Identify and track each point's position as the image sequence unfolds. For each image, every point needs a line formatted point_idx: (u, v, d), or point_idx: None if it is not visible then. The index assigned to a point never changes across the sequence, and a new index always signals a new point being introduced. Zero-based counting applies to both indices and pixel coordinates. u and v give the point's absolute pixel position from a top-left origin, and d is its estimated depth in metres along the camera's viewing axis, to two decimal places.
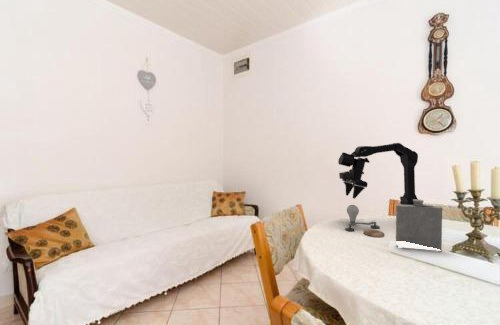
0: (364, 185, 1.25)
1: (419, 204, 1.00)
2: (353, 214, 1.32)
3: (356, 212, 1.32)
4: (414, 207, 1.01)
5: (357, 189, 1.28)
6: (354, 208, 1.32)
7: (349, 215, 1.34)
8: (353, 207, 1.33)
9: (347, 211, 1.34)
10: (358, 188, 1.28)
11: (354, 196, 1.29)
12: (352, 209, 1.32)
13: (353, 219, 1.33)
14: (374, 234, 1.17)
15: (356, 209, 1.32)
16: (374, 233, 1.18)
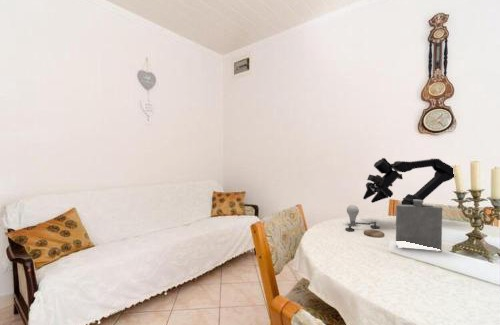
0: (389, 194, 1.25)
1: (419, 204, 1.00)
2: (353, 214, 1.32)
3: (356, 212, 1.32)
4: (414, 207, 1.01)
5: (380, 195, 1.28)
6: (354, 208, 1.32)
7: (349, 215, 1.34)
8: (353, 207, 1.33)
9: (347, 211, 1.34)
10: (381, 195, 1.28)
11: (373, 200, 1.29)
12: (352, 209, 1.32)
13: (353, 219, 1.33)
14: (374, 234, 1.17)
15: (356, 209, 1.32)
16: (374, 233, 1.18)
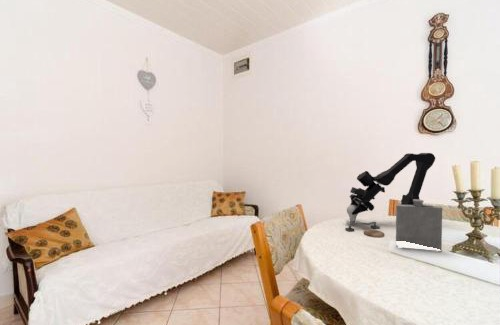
0: (370, 208, 1.25)
1: (419, 204, 1.00)
2: None
3: None
4: (414, 207, 1.01)
5: (360, 208, 1.30)
6: (354, 208, 1.32)
7: (349, 215, 1.34)
8: (353, 207, 1.32)
9: (347, 211, 1.34)
10: (361, 207, 1.30)
11: (354, 212, 1.31)
12: (352, 209, 1.32)
13: (353, 219, 1.33)
14: (374, 234, 1.17)
15: None
16: (374, 233, 1.18)
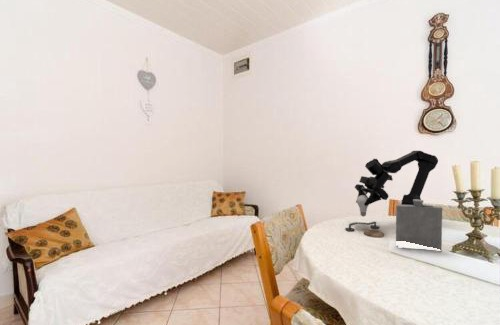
0: (385, 197, 1.19)
1: (419, 204, 1.00)
2: None
3: None
4: (414, 207, 1.01)
5: (373, 198, 1.23)
6: (366, 198, 1.24)
7: (360, 206, 1.25)
8: (365, 197, 1.24)
9: (358, 202, 1.25)
10: (374, 197, 1.23)
11: (366, 203, 1.23)
12: (364, 200, 1.24)
13: (364, 210, 1.25)
14: (374, 234, 1.17)
15: None
16: (374, 233, 1.18)
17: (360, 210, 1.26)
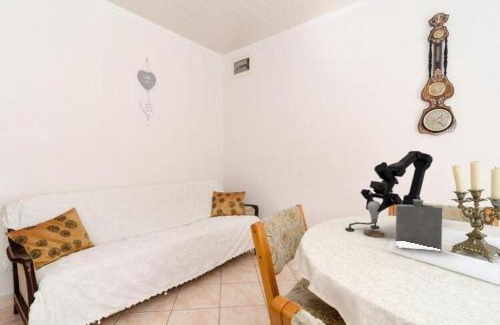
0: (400, 202, 1.13)
1: (419, 204, 1.00)
2: None
3: None
4: (414, 207, 1.01)
5: (385, 203, 1.16)
6: (379, 204, 1.17)
7: (372, 213, 1.18)
8: (377, 203, 1.17)
9: (371, 209, 1.17)
10: (386, 203, 1.17)
11: (380, 209, 1.16)
12: (378, 206, 1.16)
13: (377, 217, 1.18)
14: (374, 234, 1.17)
15: None
16: (374, 233, 1.18)
17: (372, 217, 1.18)
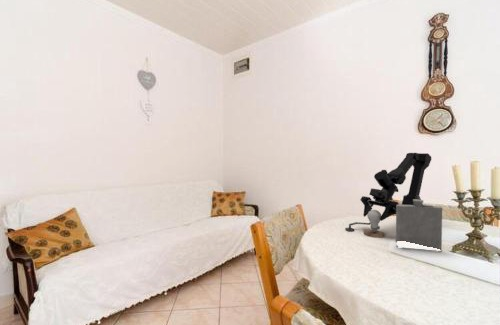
0: None
1: (419, 204, 1.00)
2: (378, 220, 1.17)
3: None
4: (414, 207, 1.01)
5: (388, 212, 1.15)
6: (379, 213, 1.17)
7: (373, 222, 1.18)
8: (377, 212, 1.17)
9: (371, 218, 1.17)
10: (389, 211, 1.15)
11: (382, 218, 1.15)
12: (378, 215, 1.16)
13: (377, 226, 1.18)
14: (374, 234, 1.17)
15: (380, 214, 1.17)
16: (374, 233, 1.18)
17: (372, 226, 1.19)
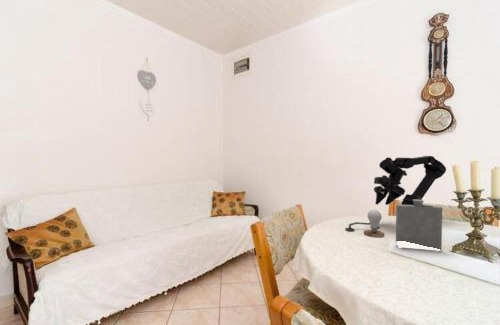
0: (401, 191, 1.19)
1: (419, 204, 1.00)
2: (378, 220, 1.17)
3: None
4: (414, 207, 1.01)
5: (392, 195, 1.22)
6: (379, 213, 1.17)
7: (373, 222, 1.18)
8: (377, 212, 1.17)
9: (371, 218, 1.17)
10: (393, 195, 1.22)
11: (387, 202, 1.22)
12: (378, 215, 1.16)
13: (377, 226, 1.18)
14: (374, 234, 1.17)
15: (380, 214, 1.17)
16: (374, 233, 1.18)
17: (372, 226, 1.19)
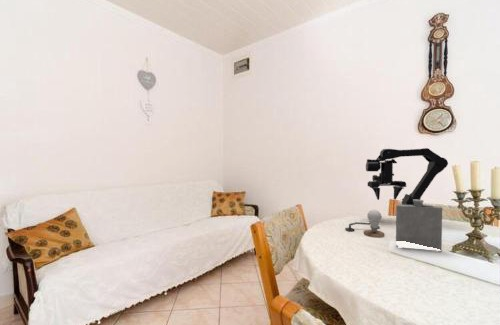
0: (370, 185, 1.36)
1: (419, 204, 1.00)
2: (378, 220, 1.17)
3: None
4: (414, 207, 1.01)
5: None
6: (379, 213, 1.17)
7: (372, 222, 1.18)
8: (377, 212, 1.17)
9: (371, 218, 1.17)
10: (376, 189, 1.37)
11: (377, 197, 1.38)
12: (378, 215, 1.16)
13: (377, 226, 1.18)
14: (374, 234, 1.17)
15: (380, 214, 1.17)
16: (374, 233, 1.18)
17: (372, 226, 1.19)
